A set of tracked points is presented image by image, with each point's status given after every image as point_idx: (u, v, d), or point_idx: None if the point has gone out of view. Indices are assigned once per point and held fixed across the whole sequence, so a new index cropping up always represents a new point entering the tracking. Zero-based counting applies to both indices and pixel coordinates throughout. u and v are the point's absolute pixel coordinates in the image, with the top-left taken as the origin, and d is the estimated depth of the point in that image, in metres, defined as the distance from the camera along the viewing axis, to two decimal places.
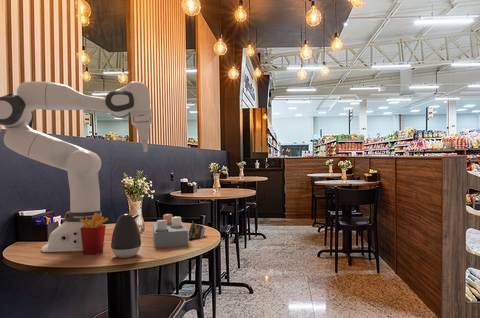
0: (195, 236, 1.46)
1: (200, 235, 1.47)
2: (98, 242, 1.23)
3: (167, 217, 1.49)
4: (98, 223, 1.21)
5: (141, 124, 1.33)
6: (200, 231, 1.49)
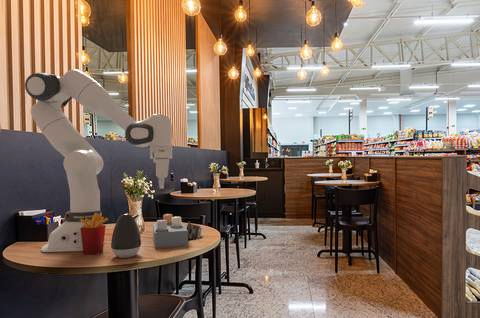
0: (192, 236, 1.45)
1: (197, 236, 1.46)
2: (98, 242, 1.23)
3: (167, 217, 1.49)
4: (98, 223, 1.21)
5: (161, 161, 1.26)
6: (196, 231, 1.49)
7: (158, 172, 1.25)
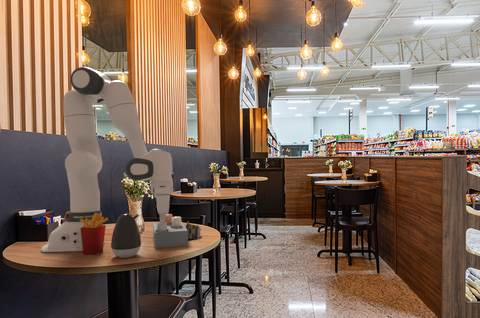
0: (192, 236, 1.45)
1: (197, 236, 1.46)
2: (98, 242, 1.23)
3: (167, 217, 1.49)
4: (98, 223, 1.21)
5: (161, 198, 1.26)
6: (196, 231, 1.48)
7: (159, 209, 1.25)
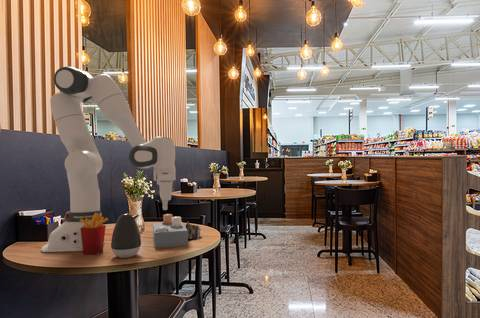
0: (192, 236, 1.45)
1: (197, 236, 1.46)
2: (98, 242, 1.23)
3: (167, 217, 1.49)
4: (98, 223, 1.21)
5: (164, 184, 1.27)
6: (196, 231, 1.48)
7: (162, 195, 1.26)
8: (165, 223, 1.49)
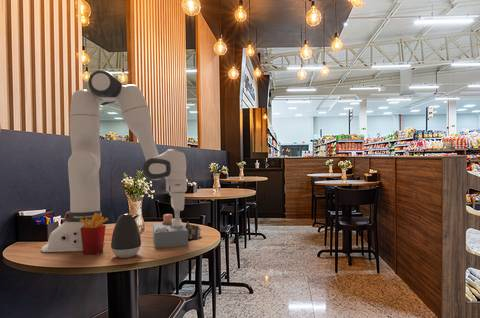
0: (192, 237, 1.44)
1: (197, 236, 1.46)
2: (98, 242, 1.23)
3: (167, 217, 1.49)
4: (98, 223, 1.21)
5: (177, 195, 1.34)
6: (196, 231, 1.48)
7: (175, 206, 1.33)
8: (165, 223, 1.49)
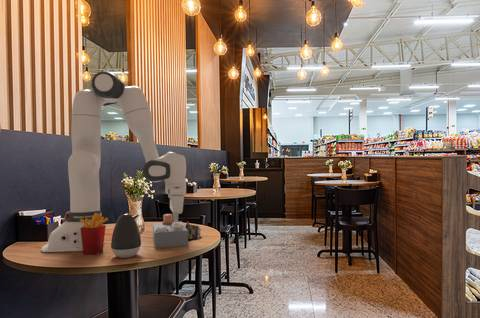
0: (192, 237, 1.44)
1: (197, 236, 1.46)
2: (98, 242, 1.23)
3: (167, 217, 1.49)
4: (98, 223, 1.21)
5: (176, 198, 1.34)
6: (196, 232, 1.48)
7: (174, 209, 1.33)
8: (165, 223, 1.49)
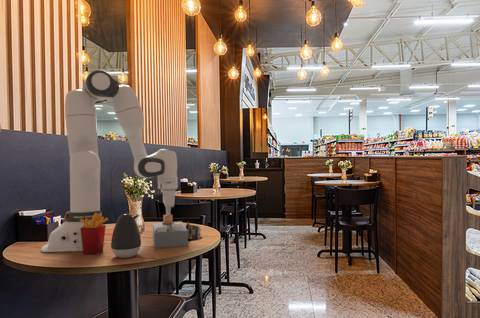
0: (192, 237, 1.44)
1: (197, 236, 1.45)
2: (98, 242, 1.23)
3: (167, 217, 1.49)
4: (98, 223, 1.21)
5: (168, 193, 1.42)
6: (196, 232, 1.47)
7: (166, 202, 1.41)
8: (165, 223, 1.49)
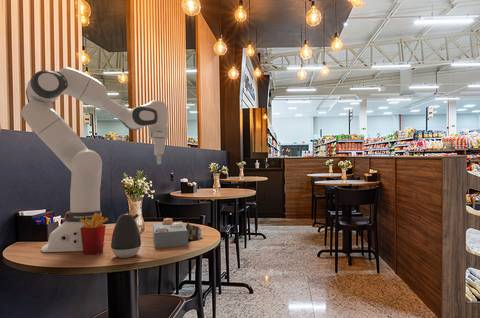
0: (193, 237, 1.43)
1: (198, 236, 1.45)
2: (98, 242, 1.23)
3: (167, 221, 1.49)
4: (98, 223, 1.21)
5: (158, 140, 1.49)
6: (197, 232, 1.47)
7: (156, 149, 1.48)
8: None
